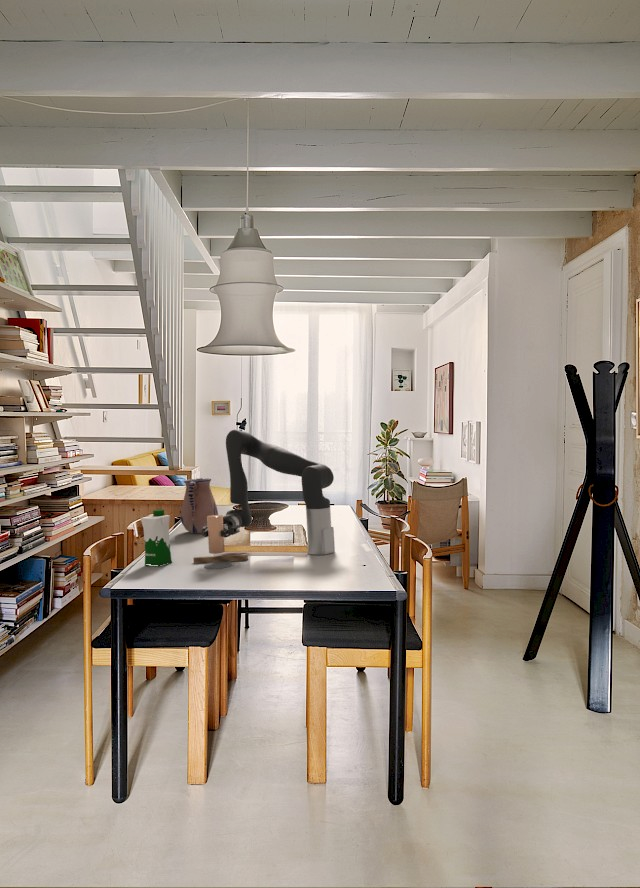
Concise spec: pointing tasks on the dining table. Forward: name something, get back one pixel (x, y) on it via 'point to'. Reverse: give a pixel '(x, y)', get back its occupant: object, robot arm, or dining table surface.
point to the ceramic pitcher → (197, 505)
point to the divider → (220, 558)
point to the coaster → (218, 565)
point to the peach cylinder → (215, 534)
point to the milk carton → (157, 538)
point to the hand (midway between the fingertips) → (213, 534)
